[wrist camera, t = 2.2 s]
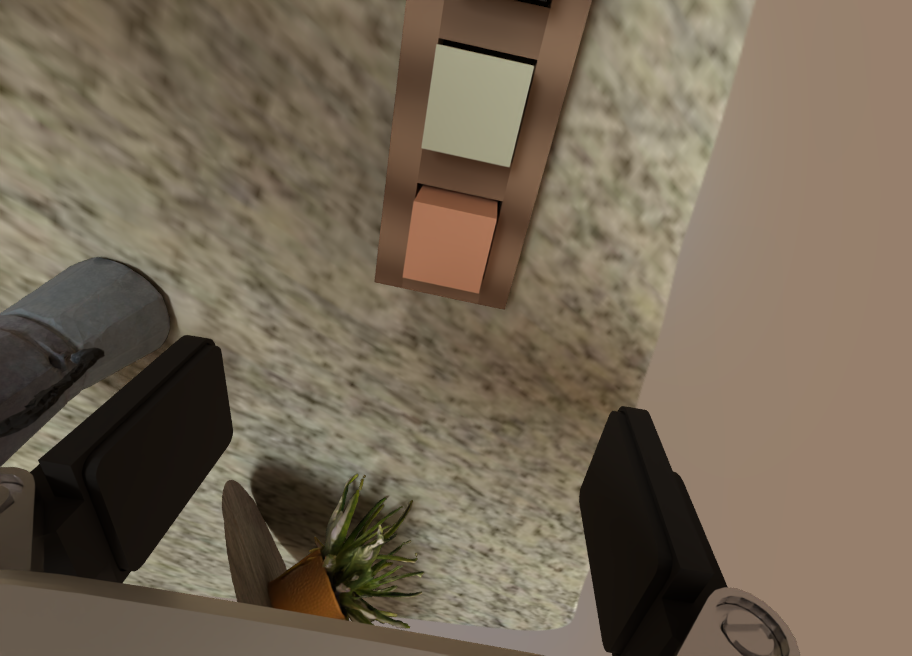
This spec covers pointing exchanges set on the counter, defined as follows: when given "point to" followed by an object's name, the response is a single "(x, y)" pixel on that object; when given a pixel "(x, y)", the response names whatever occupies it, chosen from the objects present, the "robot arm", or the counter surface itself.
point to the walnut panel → (496, 28)
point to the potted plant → (312, 562)
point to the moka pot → (72, 341)
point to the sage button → (475, 105)
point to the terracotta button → (449, 238)
